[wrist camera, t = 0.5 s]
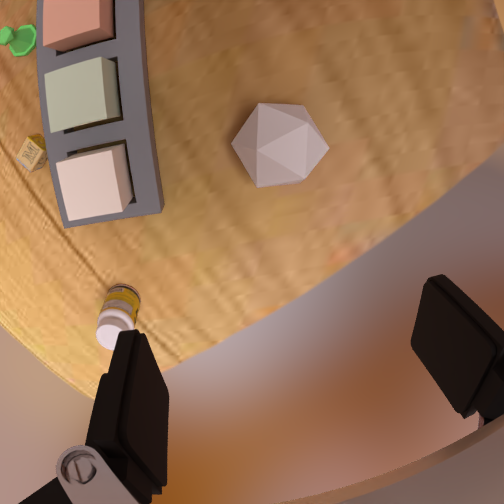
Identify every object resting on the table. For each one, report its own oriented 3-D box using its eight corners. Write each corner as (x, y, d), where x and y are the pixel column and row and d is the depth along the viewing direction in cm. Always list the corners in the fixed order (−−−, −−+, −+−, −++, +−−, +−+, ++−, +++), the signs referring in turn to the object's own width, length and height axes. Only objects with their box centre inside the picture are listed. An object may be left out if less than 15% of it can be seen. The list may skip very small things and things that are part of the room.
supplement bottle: (131, 317, 42) (121, 359, 35) (102, 301, 41) (86, 341, 33) (147, 294, 41) (137, 335, 34) (116, 276, 39) (100, 315, 32)
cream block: (74, 154, 30) (55, 163, 26) (124, 143, 31) (111, 150, 26) (84, 205, 33) (68, 221, 28) (133, 196, 33) (122, 211, 29)
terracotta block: (62, 6, 22) (43, -5, 18) (112, -10, 23) (99, -25, 18) (63, 51, 25) (43, 46, 20) (113, 37, 25) (99, 27, 21)
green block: (64, 76, 26) (44, 74, 22) (115, 62, 27) (101, 56, 22) (70, 128, 29) (50, 133, 24) (120, 116, 29) (107, 118, 25)
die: (215, 150, 35) (251, 216, 31) (234, 81, 28) (282, 142, 24) (279, 146, 39) (320, 205, 34) (305, 87, 32) (358, 142, 27)
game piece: (10, 34, 23) (-16, 29, 18) (38, 19, 23) (14, 9, 18) (14, 63, 25) (-13, 60, 20) (41, 47, 25) (17, 41, 20)
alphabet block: (26, 153, 31) (14, 158, 28) (38, 132, 30) (26, 136, 27) (42, 167, 32) (31, 173, 29) (55, 147, 31) (43, 151, 28)
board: (47, 4, 23) (37, -1, 20) (142, -24, 24) (138, -33, 21) (73, 219, 35) (64, 228, 33) (164, 204, 36) (161, 212, 34)
